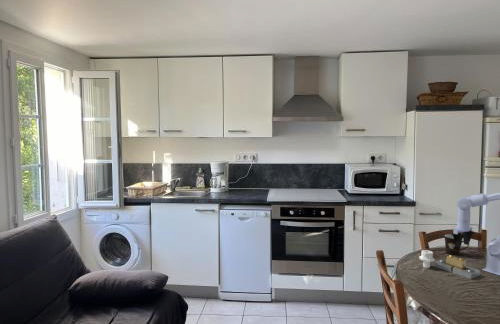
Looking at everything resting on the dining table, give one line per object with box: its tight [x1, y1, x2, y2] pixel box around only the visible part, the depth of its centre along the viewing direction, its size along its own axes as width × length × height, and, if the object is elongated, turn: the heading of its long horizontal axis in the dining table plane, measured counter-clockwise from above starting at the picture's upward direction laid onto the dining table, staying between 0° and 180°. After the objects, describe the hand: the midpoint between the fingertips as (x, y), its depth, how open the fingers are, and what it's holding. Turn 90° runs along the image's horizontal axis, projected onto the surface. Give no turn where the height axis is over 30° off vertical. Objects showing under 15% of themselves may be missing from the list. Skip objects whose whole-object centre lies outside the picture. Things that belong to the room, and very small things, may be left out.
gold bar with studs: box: [445, 254, 467, 270], centre depth 175 cm, size 8×3×7 cm, turn 31°
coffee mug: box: [444, 233, 470, 257], centre depth 198 cm, size 12×9×10 cm
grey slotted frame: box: [433, 258, 481, 280], centre depth 174 cm, size 18×8×3 cm, turn 31°
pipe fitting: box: [418, 249, 436, 269], centre depth 179 cm, size 6×7×8 cm
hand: (462, 245), depth 183 cm, fingers open, 7 cm apart
